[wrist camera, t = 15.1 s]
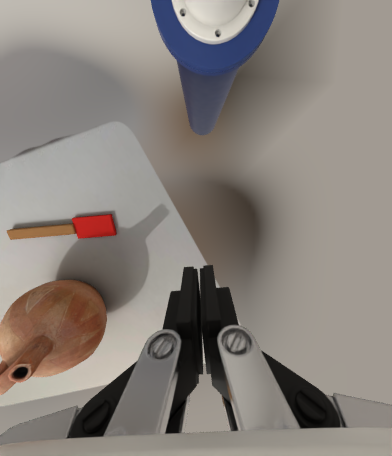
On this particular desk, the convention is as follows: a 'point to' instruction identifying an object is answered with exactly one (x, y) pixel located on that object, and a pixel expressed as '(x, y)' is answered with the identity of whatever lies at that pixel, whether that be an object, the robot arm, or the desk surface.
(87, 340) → the jug
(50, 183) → the desk surface
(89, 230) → the spatula
